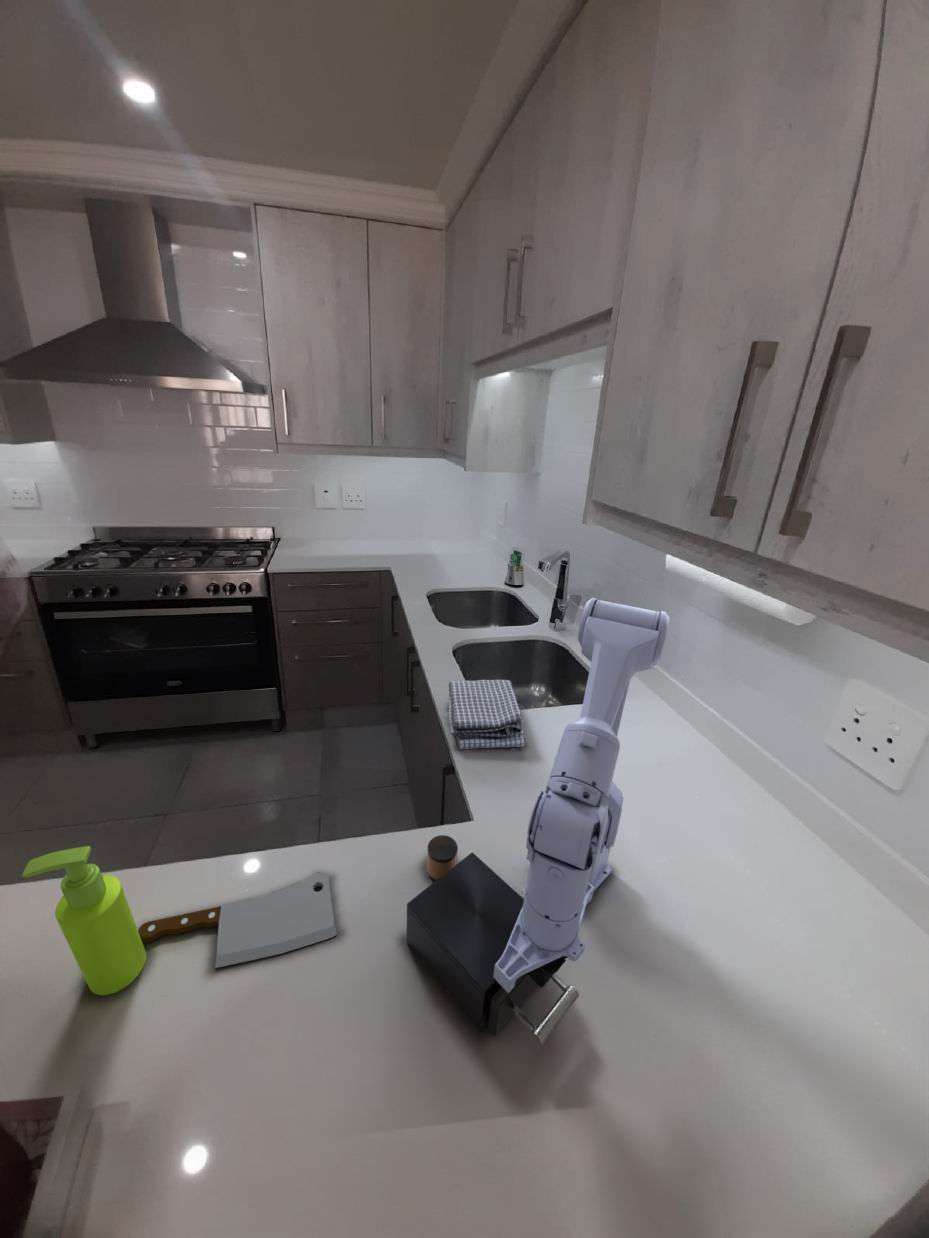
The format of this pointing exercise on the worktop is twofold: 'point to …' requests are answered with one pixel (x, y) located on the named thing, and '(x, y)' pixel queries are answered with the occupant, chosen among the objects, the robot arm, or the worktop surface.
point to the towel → (485, 714)
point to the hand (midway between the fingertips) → (538, 976)
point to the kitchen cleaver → (259, 922)
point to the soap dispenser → (94, 920)
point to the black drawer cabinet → (464, 932)
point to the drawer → (510, 1002)
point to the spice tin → (441, 856)
